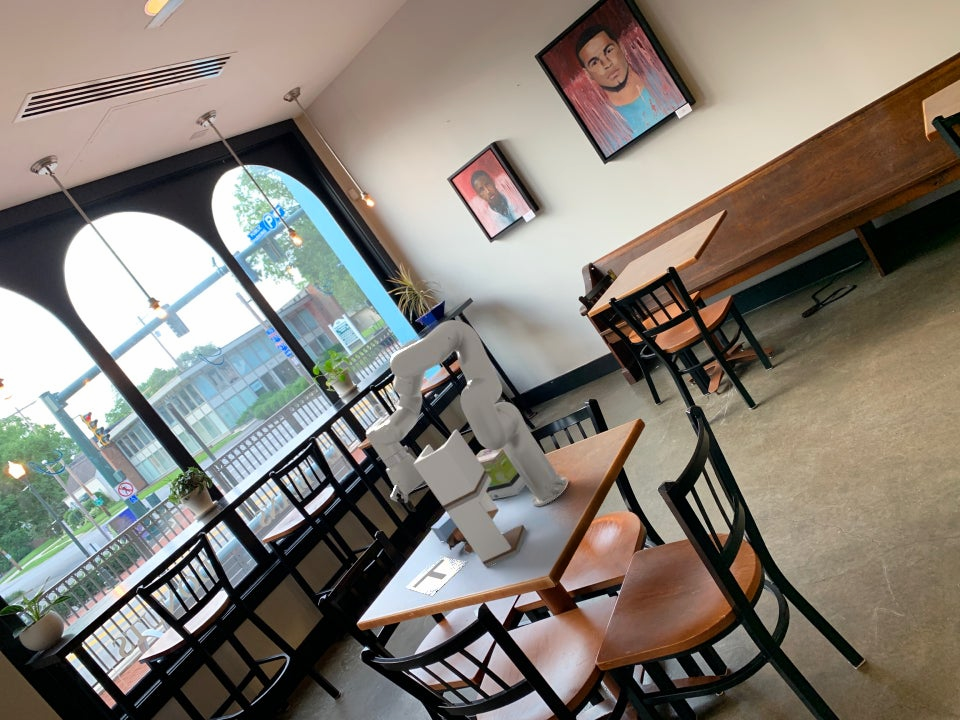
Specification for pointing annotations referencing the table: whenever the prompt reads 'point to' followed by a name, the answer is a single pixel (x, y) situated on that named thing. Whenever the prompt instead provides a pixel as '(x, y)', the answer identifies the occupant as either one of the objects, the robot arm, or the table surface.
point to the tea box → (500, 474)
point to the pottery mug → (458, 540)
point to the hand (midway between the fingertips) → (425, 501)
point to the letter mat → (435, 576)
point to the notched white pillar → (468, 498)
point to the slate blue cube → (444, 528)
